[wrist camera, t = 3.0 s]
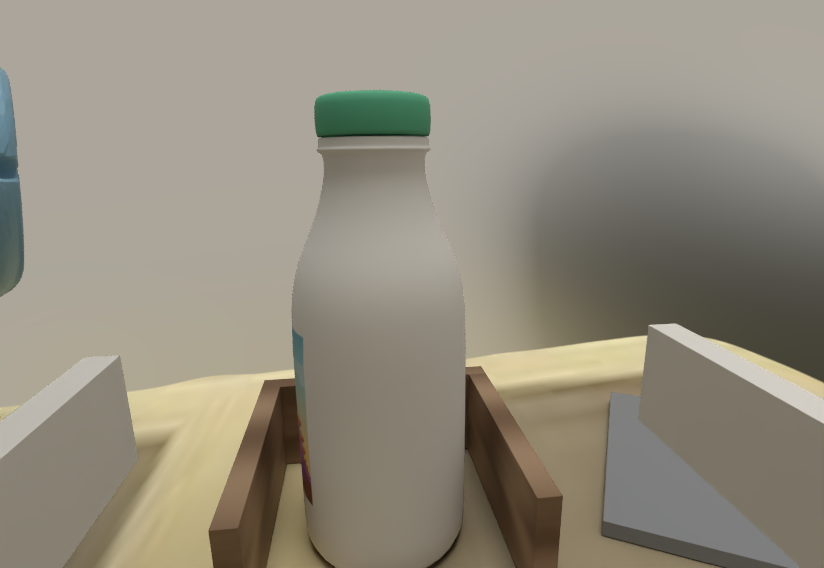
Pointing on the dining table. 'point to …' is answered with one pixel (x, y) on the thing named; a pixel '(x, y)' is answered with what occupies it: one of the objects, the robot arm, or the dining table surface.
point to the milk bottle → (379, 343)
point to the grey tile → (673, 501)
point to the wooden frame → (484, 437)
